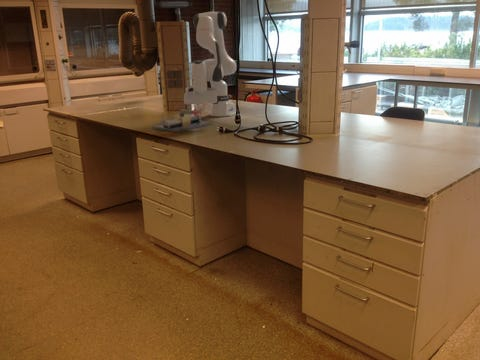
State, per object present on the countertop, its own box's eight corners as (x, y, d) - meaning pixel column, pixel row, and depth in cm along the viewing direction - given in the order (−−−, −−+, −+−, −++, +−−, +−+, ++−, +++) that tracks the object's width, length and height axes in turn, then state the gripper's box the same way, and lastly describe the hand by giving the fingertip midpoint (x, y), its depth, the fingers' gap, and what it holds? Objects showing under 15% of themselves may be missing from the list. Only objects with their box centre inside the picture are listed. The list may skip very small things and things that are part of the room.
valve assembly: (187, 121, 300) (186, 110, 298) (211, 124, 287) (211, 113, 285) (152, 128, 278) (151, 117, 276) (178, 132, 265) (177, 120, 263)
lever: (177, 115, 280) (177, 109, 279) (182, 114, 283) (181, 108, 282) (197, 117, 270) (197, 111, 269) (201, 116, 273) (201, 110, 272)
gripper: (216, 86, 276) (217, 109, 280) (182, 88, 272) (184, 111, 276) (217, 87, 270) (218, 110, 274) (183, 89, 266) (185, 112, 270)
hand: (201, 111), depth 275 cm, fingers closed
